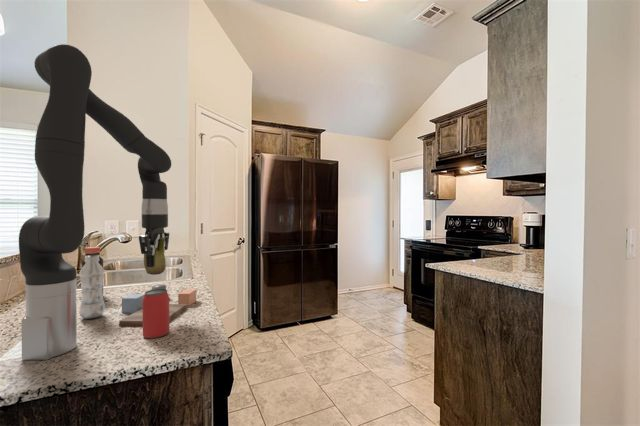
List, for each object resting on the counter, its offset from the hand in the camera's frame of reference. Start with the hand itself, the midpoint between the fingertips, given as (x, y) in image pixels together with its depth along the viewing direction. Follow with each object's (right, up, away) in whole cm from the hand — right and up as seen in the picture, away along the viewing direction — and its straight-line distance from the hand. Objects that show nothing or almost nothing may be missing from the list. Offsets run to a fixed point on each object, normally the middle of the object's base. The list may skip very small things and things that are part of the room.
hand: (155, 265), depth 97 cm
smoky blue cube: (-11, -17, +6) cm, 21 cm away
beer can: (+8, -17, -14) cm, 23 cm away
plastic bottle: (-20, -17, -1) cm, 26 cm away
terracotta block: (+4, -17, +14) cm, 22 cm away
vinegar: (-37, -17, +21) cm, 46 cm away
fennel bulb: (0, -3, 0) cm, 3 cm away
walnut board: (0, -17, 0) cm, 17 cm away
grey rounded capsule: (-10, -17, +20) cm, 28 cm away
